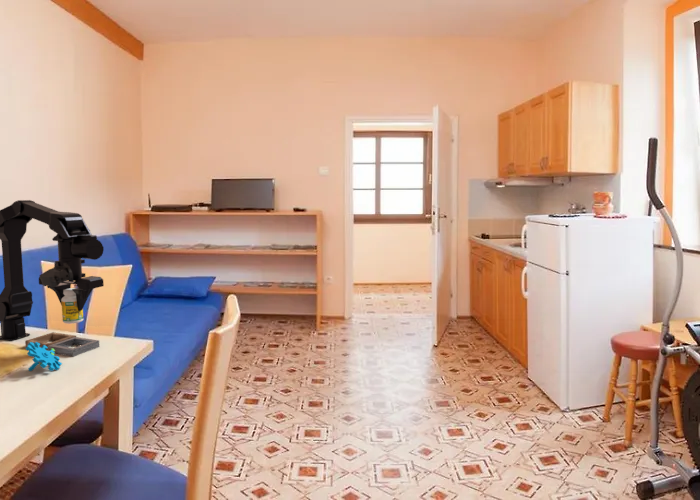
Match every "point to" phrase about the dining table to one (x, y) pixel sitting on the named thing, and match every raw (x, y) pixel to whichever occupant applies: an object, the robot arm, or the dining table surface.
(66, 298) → the supplement bottle
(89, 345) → the socket
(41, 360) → the gear
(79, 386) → the dining table surface
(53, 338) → the brown square frame
